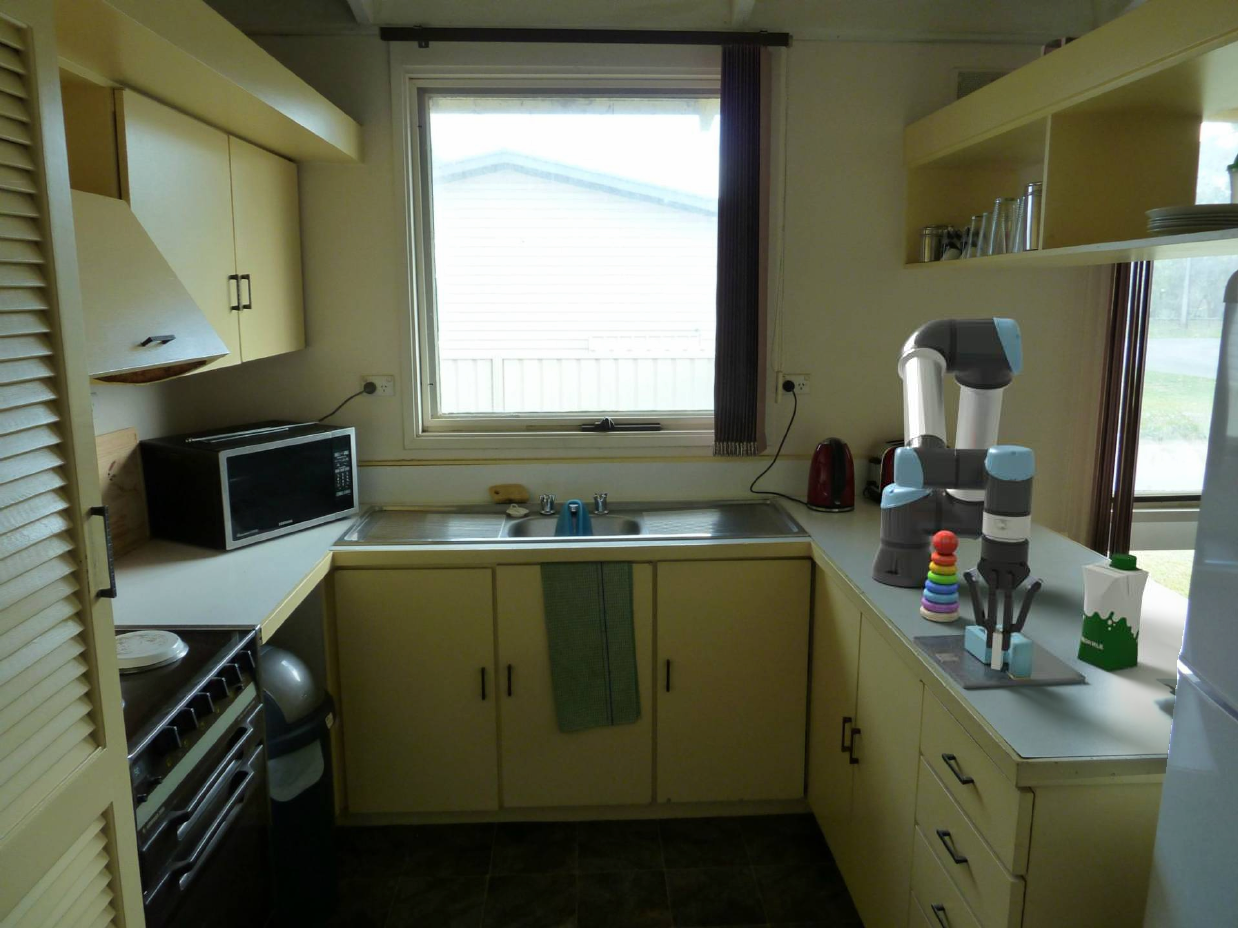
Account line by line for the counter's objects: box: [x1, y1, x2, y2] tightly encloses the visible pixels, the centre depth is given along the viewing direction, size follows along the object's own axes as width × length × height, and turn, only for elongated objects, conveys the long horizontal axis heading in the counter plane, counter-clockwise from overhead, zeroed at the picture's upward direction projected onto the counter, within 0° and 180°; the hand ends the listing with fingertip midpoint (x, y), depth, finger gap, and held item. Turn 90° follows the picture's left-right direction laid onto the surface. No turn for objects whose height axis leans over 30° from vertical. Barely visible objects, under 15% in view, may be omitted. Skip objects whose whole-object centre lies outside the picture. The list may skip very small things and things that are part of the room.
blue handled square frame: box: [964, 623, 1034, 678], centre depth 166 cm, size 8×15×6 cm, turn 5°
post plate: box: [912, 627, 1086, 689], centre depth 170 cm, size 22×22×6 cm
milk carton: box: [1076, 552, 1150, 673], centre depth 167 cm, size 9×9×20 cm
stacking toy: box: [919, 531, 960, 623], centre depth 192 cm, size 8×8×19 cm
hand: (996, 666), depth 161 cm, fingers closed
